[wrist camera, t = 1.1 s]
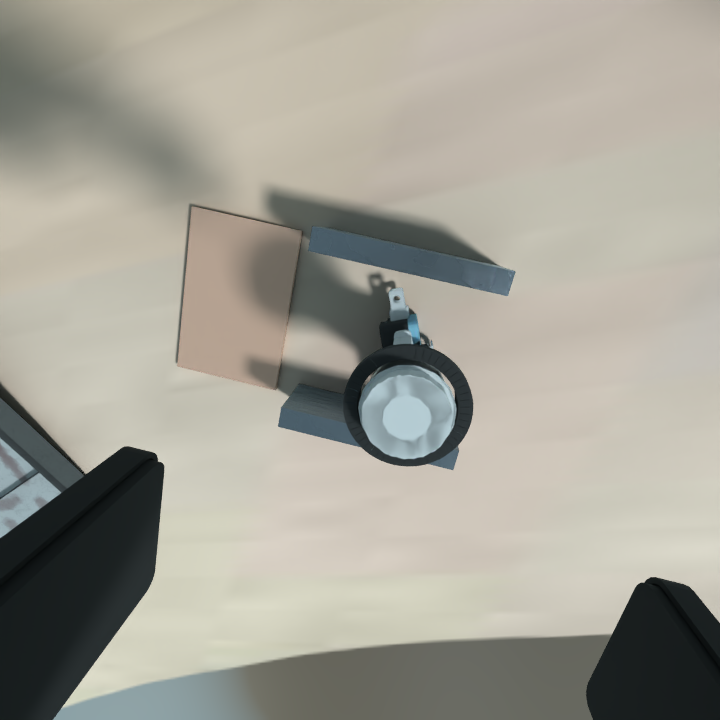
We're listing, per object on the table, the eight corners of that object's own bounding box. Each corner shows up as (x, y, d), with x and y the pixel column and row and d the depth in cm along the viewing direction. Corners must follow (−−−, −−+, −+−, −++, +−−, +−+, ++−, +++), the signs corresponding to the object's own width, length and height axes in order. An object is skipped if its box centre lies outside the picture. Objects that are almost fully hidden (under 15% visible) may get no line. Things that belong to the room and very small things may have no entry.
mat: (302, 230, 25) (301, 230, 25) (276, 388, 28) (275, 390, 28) (194, 206, 26) (191, 206, 25) (179, 364, 29) (177, 366, 28)
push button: (353, 295, 26) (319, 330, 16) (443, 279, 25) (462, 306, 16) (373, 398, 28) (353, 485, 18) (458, 386, 27) (484, 471, 17)
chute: (499, 265, 25) (515, 271, 21) (447, 437, 28) (453, 470, 24) (327, 227, 25) (312, 225, 21) (296, 400, 28) (278, 426, 24)
